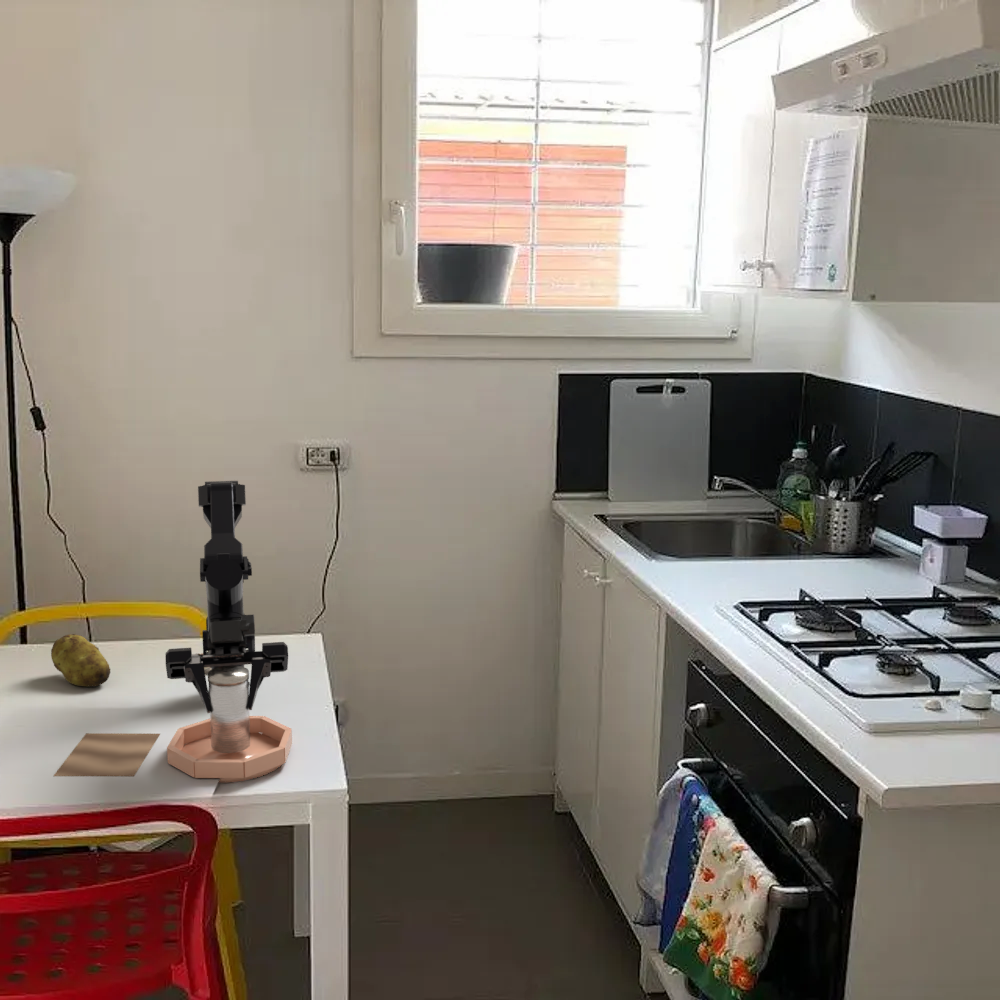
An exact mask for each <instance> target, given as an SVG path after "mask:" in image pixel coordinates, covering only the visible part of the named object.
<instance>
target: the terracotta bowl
mask: <svg viewBox="0 0 1000 1000" xmlns="http://www.w3.org/2000/svg"><path fill="white" fill-rule="evenodd" d="M249 716H250V746H249V747H248V748H247V749H245V750H243V751H240V752H235V753H220V752H217V751H214V750H213V749H212V748H211V729H210V718H208V719H205V720H201V721H198V722H195V723H194V722H193V723H192V724H191V723H190V724H188V725H185V726H182V727H179V728H177V730H176V731H175V733H174V735H173V736H172V738H171V739H170V742H169V744H168V745H167V746H166V752H167V753H166V756H167V764H169V765H170V766H173V767H175V768H176V769H178V770H179V771H181V772H183V773H185V774H187V775H188V776H191V777H192V778H195V779H218V783H219V784H220V783H221V784H223V783H238V782H245V781H248V780H249V781H250V780H254V779H257V777H258V778H260V777H264V776H266V775H269V774H271V773H273V772H275V771H276V770H278V769H279V768H280V767H281V766H282V765H284V764H285V763H286V762H287V759H288V756H289V753H290V752H291V748H292V746H293V729H292V728H291V727H289V726H287V725H284V724H282V723H281V722H278V721H276V720H274V719H272V718H270V717H267V716H266V715H249ZM278 767H279V768H278ZM277 768H278V769H277ZM275 769H276V770H275ZM272 771H273V772H272ZM270 772H271V773H270ZM268 773H269V774H268ZM263 775H264V776H263ZM253 778H254V779H253Z"/></svg>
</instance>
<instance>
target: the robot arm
mask: <svg viewBox="0 0 1000 1000" xmlns="http://www.w3.org/2000/svg"><path fill="white" fill-rule="evenodd" d="M197 494H198V495H197V497H198V500H197V502H198V508H202V513H203V519H204V522H205V523H207V526H208V527H209V528H210V535H211V536H210V539H209V540H208V541H207V542H206V543H205V544H204V546H203V547H204V550H203V551H204V552H203V554H204V555H203V556H204V557H200V558H199V560H200V561H199V579H200V580H199V581H200V583H201V582H205V589H206V590H205V591H206V607H207V609H206V611H207V612H206V613H207V616H206V619H205V625H206V627H205V629H204V630H203V629H202V633H201V634H202V653H203V655H200V654H201V653H199V654H198V653H192V652H193V651H192V647H180V648H168V649H167V651H166V652H165V669H166V678H167V679H169V680H178V679H185V680H184V681H185V682H186V683H192V685H193V687H194V688H195V689H196V691H197V693H198V695H199V696H200V698H201V701H202V703H203V705H204V708H205V710H206V713H207V714H210V700H209V688H208V685H207V678H206V674H205V671H204V667H212V669H214V668H217V667H221V666H241V667H245V666H246V665H251V667H250V668H251V671H250V681H248V685H249V711H252V710H253V707H254V704H255V701H256V697H257V694H258V691H259V690H260V686H261V685H262V683H263V680H264V679H265V678H269V677H271V675H272V674H271V673H280V672H282V673H283V672H286V671H288V667H289V666H288V665H289V648H288V647H289V646H288V645H287V643H286V642H285V641H278V642H262V643H261V647H262V648H261V650H259V651H256V629H255V614H245V613H244V580H249V576H251V577H252V576H253V573H252V572H253V571H252V569H253V568H252V563H251V561H249V558H248V556H246V555H244V554H243V553H244V552H243V544H242V542H241V541H239V539H237V538H236V533H235V532H236V531H235V529H236V528H237V526H238V524H239V523H240V521H241V519H242V518H243V506H244V507H245V506H246V504H247V503H246V502H247V501H246V500H247V499H246V485H245V484H240V483H239V480H215V481H213V480H212V481H204V484H203V485H199V486H197ZM208 651H209V652H208Z"/></svg>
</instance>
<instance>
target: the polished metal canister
mask: <svg viewBox="0 0 1000 1000" xmlns="http://www.w3.org/2000/svg"><path fill="white" fill-rule="evenodd" d="M249 672H250V671H249V669H248V668H247V667H245V666H244V667H241V666H221V667H217V668H214V669H212V670H210V671H209V672H208V674H207V682H208V692H209V700H210V713H209V719H210V729H211V748H212V749H213V750H214V751H217V752H220V753H235V752H240V751H243V750H245V749H247V748H248V747H249V746H250V716H251V715H250V710H249V690H250V685H248V682H249V678H250V673H249Z"/></svg>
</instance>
